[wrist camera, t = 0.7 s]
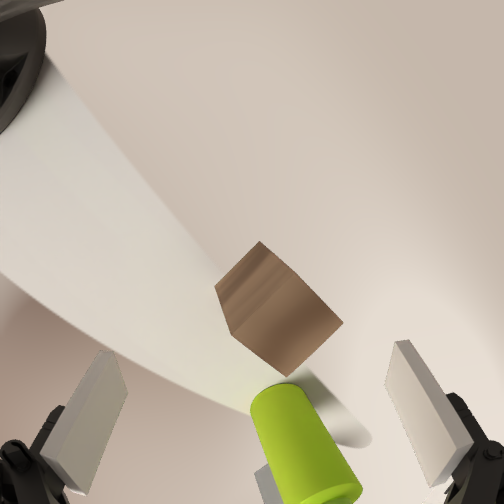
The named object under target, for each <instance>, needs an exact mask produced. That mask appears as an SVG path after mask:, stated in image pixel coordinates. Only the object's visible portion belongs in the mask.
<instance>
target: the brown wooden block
mask: <svg viewBox="0 0 504 504" xmlns="http://www.w3.org/2000/svg"><path fill="white" fill-rule="evenodd" d="M215 289H216V292H217V295H218V298H219V301H220V304H221V307H222V310H223V313H224V316H225V319H226V322H227V325H228V328H229V331H230V334H231V335H232V336H233V337H234V338H235V339H237V340H238V341H239V342H241V343H242V344H243V345H244V346H246V347H247V348H248V349H250V350H251V351H252V352H253V353H255V354H256V355H257V356H259V357H260V358H261V359H263V360H264V361H265V362H267V363H268V364H269V365H271V366H272V367H273V368H275V369H276V370H277V371H279V372H280V373H281V374H283V375H284V376H285V377H287V376H289V375H290V374H291V373H292V372H293V371H294V370H295V369H296V368H297V367H299V366H300V365H301V364H302V363H303V362H304V361H305V360H306V359H307V358H308V357H309V356H310V355H311V354H312V353H313V352H315V351H316V350H317V349H318V348H319V347H320V346H321V345H322V344H323V343H324V342H325V341H326V340H327V339H328V338H329V337H330V336H331V335H332V334H333V333H334V332H335V331H336V330H337V329H338V328H339V327H340V326H341V325H342V324H343V321H342V320H341V319H340V318H339V317H338V316H337V315H336V314H335V313H334V312H333V311H332V310H331V309H330V308H329V307H328V306H327V305H326V304H325V303H324V302H323V301H322V300H321V299H320V297H318V296H317V294H316V293H315V292H314V291H313V290H312V289H310V287H309V286H308V285H307V284H306V283H305V282H304V281H303V280H302V279H301V278H300V277H299V276H298V275H297V274H296V273H295V272H294V271H293V270H292V269H291V268H289V266H287V265H286V264H285V263H284V262H283V261H282V260H281V259H279V258H278V257H277V256H276V255H275V254H274V253H273V252H271V251H270V250H269V249H268V248H267V247H266V246H264V245H263V244H262V243H261V242H260V241H259V242H258V243H257V244H256V245H255V246H254V247H253V248H252V249H251V250H250V251H249V252H248V253H247V254H246V255H245V256H244V257H243V258H242V259H241V260H240V261H239V262H238V263H237V264H236V265H235V266H234V267H233V268H232V269H231V270H230V271H229V272H228V273H227V274H226V275H225V276H224V277H223V278H222V279H221V280H220V281H219V282H218V283H217V284H216V285H215Z"/></svg>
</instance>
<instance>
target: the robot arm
mask: <svg viewBox="0 0 504 504" xmlns="http://www.w3.org/2000/svg"><path fill="white" fill-rule="evenodd" d="M60 1H63V0H0V133H1V132H2V131H3V130H4V129H5V128H6V127H7V126H8V124H9V123H10V122H11V121H12V120H13V118H14V117H15V116H16V114H17V113H18V111H19V110H20V108H21V107H22V105H23V104H24V102H25V100H26V99H27V97H28V95H29V93H30V91H31V89H32V87H33V85H34V83H35V81H36V79H37V76H38V73H39V71H40V68H41V65H42V61H43V57H44V53H45V47H46V25H45V20H44V17H43V15H42V13H41V11H40V9H39V7H42V6H46V5H49V4H52V3H56V2H60ZM384 385H385V387H386V389H387V391H388V394H389V396H390V398H391V400H392V402H393V404H394V407H395V409H396V411H397V413H398V415H399V417H400V420H401V422H402V424H403V427H404V429H405V431H406V433H407V436H408V438H409V440H410V443H411V445H412V447H413V450H414V452H415V454H416V457H417V459H418V461H419V464H420V466H421V469H422V471H423V473H424V476H425V478H426V481H427V484H428V486H429V488H431V487H434V486H437V485H440V484H442V483H445V482H446V481H447V480H448V478H449V477H450V476H451V475H452V477H453V479H454V481H453V483H452V484H451V485H450V486H449V487H448V489H447V490H446V491H445V493H444V494H447V493H448V495H447V497H446V500H445V502H444V504H504V447H503V446H502V445H501V444H500V443H499V442H496V441H491V440H488V438H487V437H486V435H485V433H484V432H483V430H482V429H481V427H480V425H479V424H478V422H477V421H476V419H475V417H474V416H472V413H471V411H470V410H469V409H468V407H467V405H466V403H465V402H464V400H463V399H462V398H461V397H459V396H458V395H457V394H455V393H450V394H446V395H445V393H444V392H443V390H442V389H441V387H440V385H439V384H438V383H437V381H436V380H435V378H434V376H433V375H432V373H431V372H430V370H429V369H428V367H427V365H426V364H425V363H424V361H423V360H422V358H421V357H420V355H419V354H418V352H417V351H416V349H415V348H414V346H413V345H412V343H411V342H410V340H403V341H397V342H395V343H394V348H393V352H392V357H391V361H390V365H389V369H388V373H387V376H386V380H385V384H384ZM127 395H128V391H127V388H126V386H125V383H124V380H123V378H122V375H121V372H120V369H119V366H118V363H117V360H116V357H115V354H114V351H103V350H100V351H99V353H98V354H97V356H96V357H95V359H94V361H93V362H92V364H91V366H90V367H89V369H88V370H87V372H86V374H85V375H84V377H83V378H82V380H81V382H80V383H79V385H78V387H77V388H76V390H75V392H74V393H73V395H72V397H71V398H70V400H69V402H68V403H67V405H66V407H65V406H61V405H59V406H58V407H56V408H55V409H54V410H53V411H52V412H51V413H50V414H49V416H48V418H47V420H46V422H45V423H44V425H43V426H42V429H41V430H40V431H39V433H38V435H37V436H36V438H35V440H34V442H33V444H32V446H31V447H30V449H28V448H27V447H26V445H25V444H24V443H23V442H22V441H20V440H16V439H15V440H10V441H8V442H6V443H5V444H4V445H3V446H2V447H1V449H0V457H1V458H2V460H1V459H0V504H70V503H69V501H68V499H67V496H66V494H65V493H64V491H63V489H64V486H65V485H66V486H67V487H68V488H69V489H70V491H71V492H74V493H78V494H81V495H84V496H87V495H88V492H89V489H90V487H91V484H92V481H93V479H94V476H95V473H96V471H97V468H98V465H99V463H100V460H101V458H102V455H103V453H104V450H105V448H106V445H107V443H108V440H109V438H110V435H111V433H112V430H113V428H114V425H115V423H116V420H117V418H118V416H119V413H120V411H121V409H122V406H123V404H124V402H125V399H126V397H127Z"/></svg>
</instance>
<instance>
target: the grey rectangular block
mask: <svg viewBox="0 0 504 504" xmlns="http://www.w3.org/2000/svg"><path fill="white" fill-rule="evenodd" d="M254 475H255V477H256V481H257V483H258V487H259V490H260V493H261V495H262V499H263V502H264V504H284V503H283V500H282V498H281V495H280V493H279V490H278V487H277V485H276V482H275V480H274V477H273V474H272V472H271V469H270V466H269V464H267V465H265V466H264V467H262V468H261V469H259V470H258V471H256V472H255V473H254Z"/></svg>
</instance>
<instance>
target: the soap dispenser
mask: <svg viewBox="0 0 504 504" xmlns="http://www.w3.org/2000/svg"><path fill="white" fill-rule="evenodd" d="M250 413H251V416H252V419H253V422H254V425H255V427H256V430H257V433H258V436H259V439H260V442H261V444H262V447H263V450H264V453H265V455H266V458H267V461H268V464H269V466H270V469H271V472H272V474H273V477H274V480H275V482H276V485H277V487H278V490H279V493H280V495H281V498H282V500H283V503H284V504H353V503H354V502H355V501H356V500H357V499H358V498H359V497H360V495H361V494H362V491H363V488H362V485H361V484H360V482H359V481H358V479H357V477H356V476H355V474H354V473H353V471H352V470H351V468H350V466H349V465H348V463H347V462H346V460H345V458H344V457H343V455H342V454H341V452H340V450H339V449H338V447H337V445H336V444H335V442H334V440H333V439H332V437H331V436H330V434H329V432H328V431H327V429H326V427H325V426H324V424H323V422H322V421H321V419H320V418H319V416H318V414H317V413H316V411H315V409H314V408H313V406H312V404H311V403H310V401H309V399H308V398H307V396H306V394H305V393H304V391H303V390H302V389H301V388H300V387H298V386H296V385H293V384H278V385H274V386H271V387H269V388H267V389H265V390H263V391H262V392H261V393H259V394H258V395H257V396H256V397H255V399H254V400H253V402H252V404H251V408H250Z"/></svg>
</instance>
